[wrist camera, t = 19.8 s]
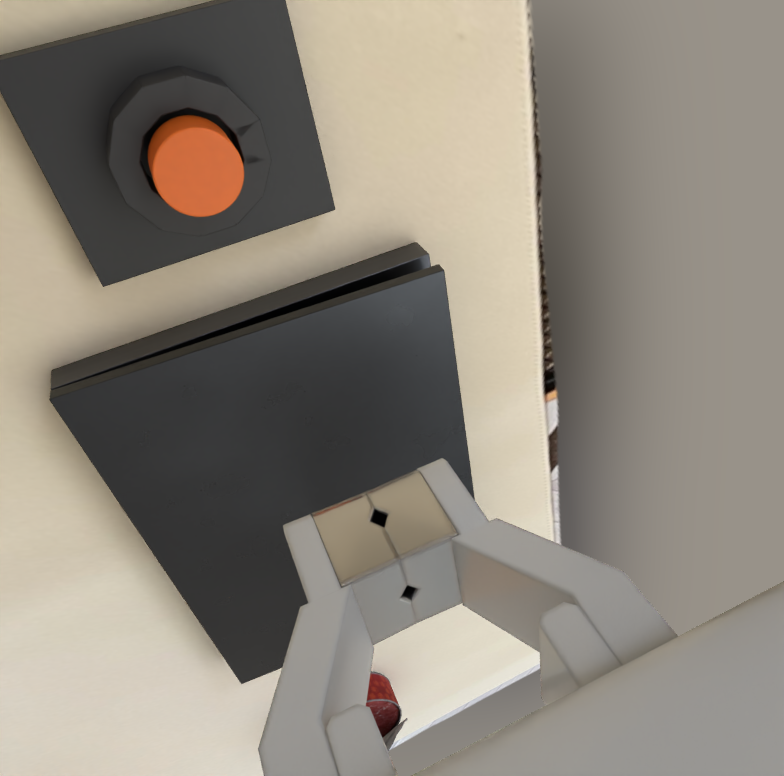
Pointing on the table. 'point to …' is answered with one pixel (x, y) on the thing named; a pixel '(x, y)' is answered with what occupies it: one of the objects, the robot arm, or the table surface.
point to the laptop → (250, 313)
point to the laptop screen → (272, 444)
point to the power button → (195, 166)
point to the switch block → (153, 108)
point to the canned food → (384, 708)
